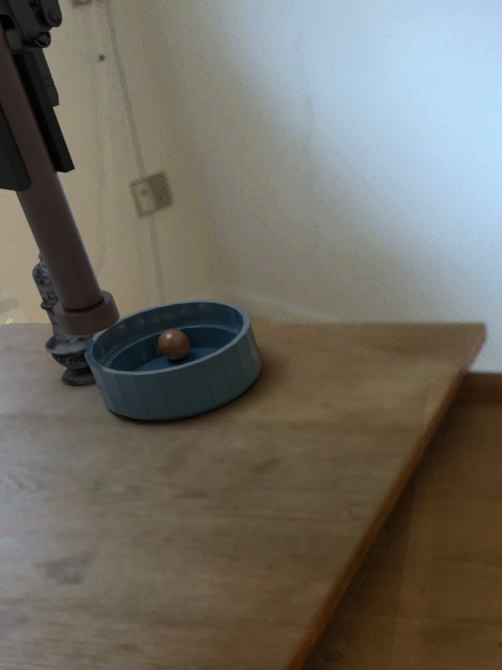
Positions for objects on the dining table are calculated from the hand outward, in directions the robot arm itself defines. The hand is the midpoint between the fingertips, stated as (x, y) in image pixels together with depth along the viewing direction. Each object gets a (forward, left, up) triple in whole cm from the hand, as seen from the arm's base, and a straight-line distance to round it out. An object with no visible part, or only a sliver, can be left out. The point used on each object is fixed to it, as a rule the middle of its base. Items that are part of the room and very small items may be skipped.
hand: (34, 177), depth 60 cm
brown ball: (-5, +25, -23) cm, 34 cm away
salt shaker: (-15, +24, -25) cm, 38 cm away
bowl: (-4, +20, -25) cm, 32 cm away
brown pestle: (0, 0, -10) cm, 10 cm away
